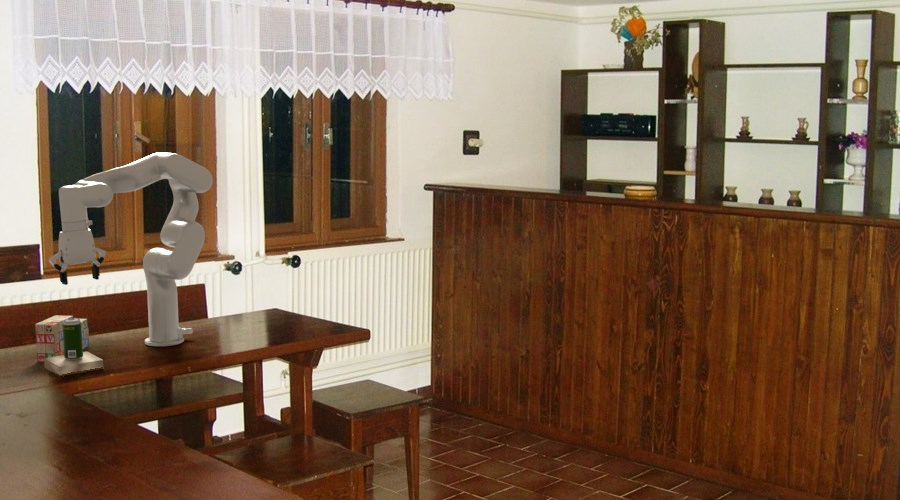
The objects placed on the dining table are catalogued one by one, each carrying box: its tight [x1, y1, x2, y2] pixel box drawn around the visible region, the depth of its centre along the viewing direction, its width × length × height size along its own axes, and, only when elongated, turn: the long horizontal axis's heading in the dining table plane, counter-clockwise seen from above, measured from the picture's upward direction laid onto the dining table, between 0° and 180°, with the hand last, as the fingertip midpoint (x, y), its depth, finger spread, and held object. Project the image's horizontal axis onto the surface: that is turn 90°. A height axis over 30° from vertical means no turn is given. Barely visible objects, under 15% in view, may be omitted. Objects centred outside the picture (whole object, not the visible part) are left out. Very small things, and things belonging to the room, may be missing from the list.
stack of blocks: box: [34, 314, 90, 363], centre depth 331 cm, size 21×6×12 cm, turn 172°
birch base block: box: [43, 351, 104, 375], centre depth 314 cm, size 13×13×3 cm
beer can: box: [62, 317, 84, 361], centre depth 313 cm, size 5×5×12 cm
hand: (80, 281), depth 319 cm, fingers open, 9 cm apart
